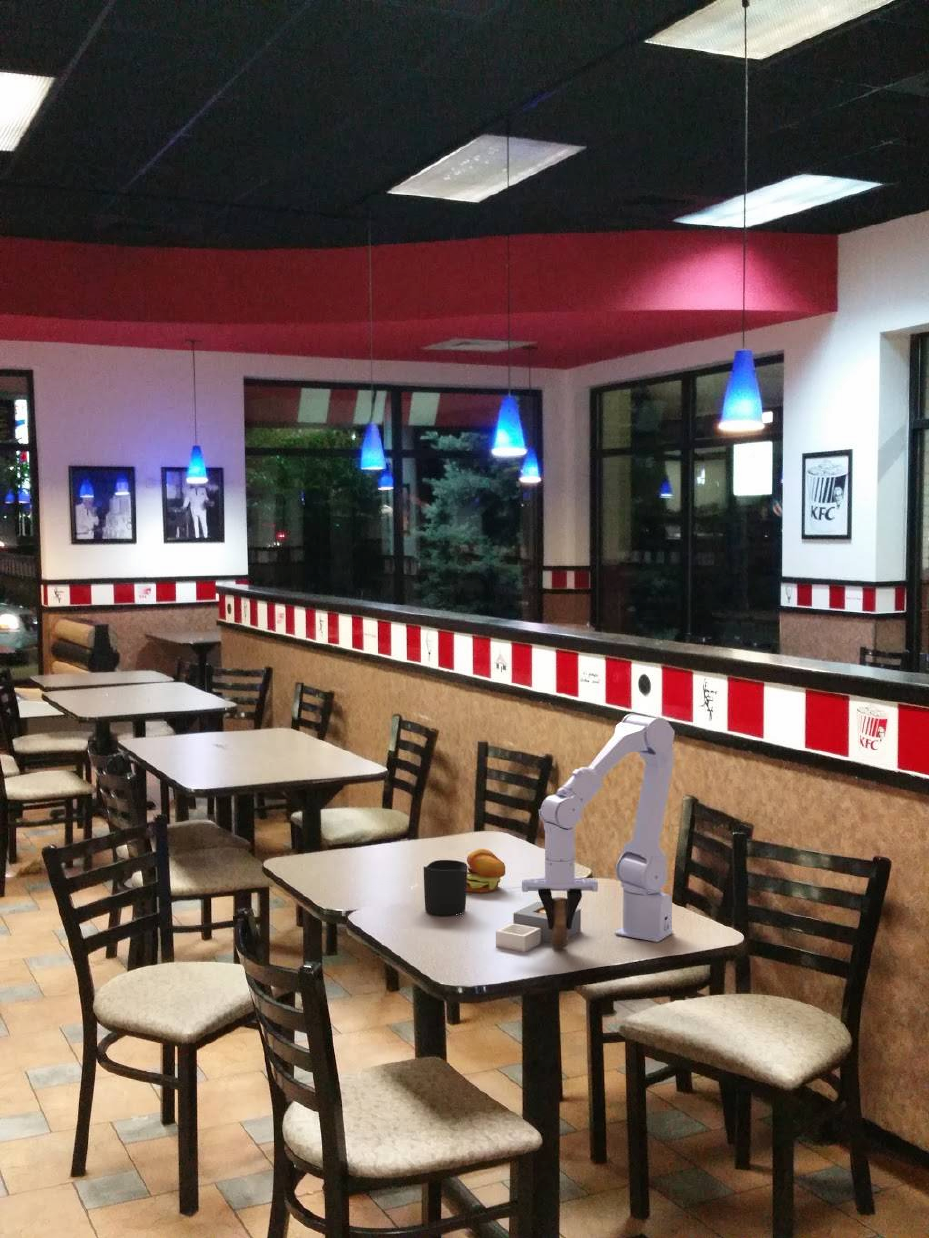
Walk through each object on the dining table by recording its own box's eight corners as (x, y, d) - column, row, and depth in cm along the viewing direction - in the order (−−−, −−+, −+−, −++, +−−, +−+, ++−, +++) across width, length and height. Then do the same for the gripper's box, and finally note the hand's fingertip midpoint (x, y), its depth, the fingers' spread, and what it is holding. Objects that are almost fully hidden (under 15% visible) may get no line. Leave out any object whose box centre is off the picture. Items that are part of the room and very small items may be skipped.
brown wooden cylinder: (569, 944, 237) (570, 898, 237) (562, 948, 235) (562, 902, 234) (556, 941, 239) (556, 896, 238) (548, 945, 236) (549, 899, 236)
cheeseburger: (469, 879, 289) (478, 840, 287) (507, 896, 284) (517, 856, 282) (446, 888, 280) (456, 847, 279) (486, 906, 275) (496, 864, 273)
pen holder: (474, 913, 261) (474, 867, 260) (435, 919, 256) (435, 872, 256) (455, 903, 269) (455, 858, 269) (416, 908, 265) (416, 862, 264)
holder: (540, 943, 240) (540, 928, 240) (524, 951, 235) (524, 936, 235) (512, 938, 244) (512, 923, 244) (495, 946, 238) (495, 931, 238)
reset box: (580, 930, 249) (580, 908, 248) (557, 943, 240) (557, 920, 240) (537, 923, 254) (537, 901, 254) (513, 935, 246) (513, 912, 245)
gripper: (594, 853, 240) (594, 921, 241) (520, 853, 240) (520, 921, 240) (599, 861, 233) (598, 932, 234) (523, 861, 233) (523, 932, 233)
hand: (559, 927), depth 236 cm, fingers closed on brown wooden cylinder, 3 cm apart
